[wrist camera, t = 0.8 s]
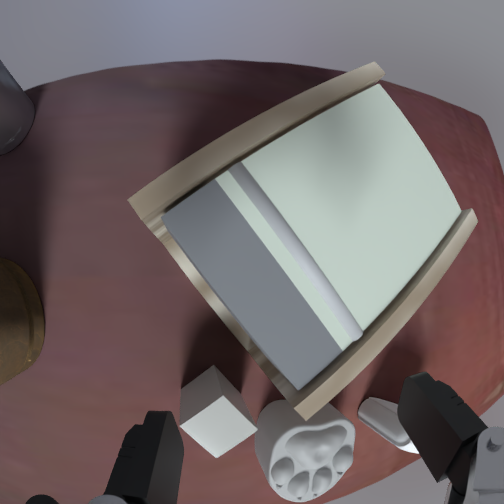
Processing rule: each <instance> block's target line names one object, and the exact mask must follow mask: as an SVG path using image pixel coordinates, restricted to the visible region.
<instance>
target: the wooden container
mask: <svg viewBox="0 0 504 504" xmlns="http://www.w3.org/2000/svg"><path fill="white" fill-rule="evenodd" d="M43 341H44V315H43V309H42V304H41V301H40V298H39V296H38V293H37V290H36V288H35V286H34V284H33V282H32V281H31V279H30V277H29V276H28V275H27V273H26V272H25V271H24V270H23V269H22V268H21V267H20V266H19V265H17V264H16V263H14V262H12V261H10V260H8V259H4V258H0V385H2V384H4V383H5V382H7V381H9V380H10V379H12V378H13V377H15V376H16V375H18V374H20V373H21V372H23V371H25V370H26V369H28V368H29V367H30V366H32V364H33V363H34V362H35V361H36V359H37V358H38V356H39V354H40V352H41V349H42V345H43Z"/></svg>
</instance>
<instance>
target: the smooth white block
mask: <svg viewBox="0 0 504 504" xmlns="http://www.w3.org/2000/svg"><path fill="white" fill-rule="evenodd" d="M180 427H181V428H182V429H183V430H184V431H186V432H187V433H188V434H189V435H190V436H191V437H192V438H193V439H194V440H196V441H197V442H198V443H199V444H200V445H201V446H202V447H204V448H205V449H206V450H207V451H208V452H210V453H211V454H212V455H213V456H214V457H216V458H218V457H219V456H221V455H222V454H224V453H225V452H227V451H228V450H230V449H231V448H233V447H234V446H236V445H237V444H239V443H240V442H242V441H243V440H245V439H246V438H247V437H249V436H250V435H252V434H253V433H254V432H256V431H257V430H258V428H257V426H256V424H255V422H254V420H253V418H252V416H251V414H250V412H249V410H248V408H247V406H246V404H245V402H244V399H243V397H242V395H241V393H240V392H239V391H238V390H237V389H236V388H235V387H234V386H233V385H232V384H231V383H230V382H229V381H228V380H227V379H226V377H225V376H224V375H223V374H222V373H221V372H220V371H219V370H218V369H217V367H216V366H215V365H213V366H211V367H210V368H209V369H207V370H206V371H205V372H203V373H202V374H201V375H199V376H198V377H197V378H195V379H194V380H193V381H191V382H190V383H189V384H187V385H186V386H184V387H183V388H182V389H181V397H180Z"/></svg>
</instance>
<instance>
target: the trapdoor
mask: <svg viewBox="0 0 504 504" xmlns="http://www.w3.org/2000/svg"><path fill="white" fill-rule="evenodd" d="M461 212H462V211H461V209H460V207H459V205H458V203H457V201H456V199H455V197H454V195H453V193H452V191H451V190H450V188H449V186H448V184H447V182H446V180H445V179H444V177H443V175H442V173H441V172H440V170H439V168H438V166H437V165H436V163H435V161H434V160H433V158H432V157H431V155H430V153H429V152H428V150H427V149H426V147H425V145H424V144H423V142H422V141H421V139H420V138H419V136H418V135H417V133H416V132H415V130H414V129H413V128H412V126H411V125H410V123H409V122H408V120H407V119H406V118H405V116H404V115H403V114H402V112H401V111H400V110H399V108H398V107H397V106H396V104H395V103H394V102H393V100H392V99H391V98H390V97H389V95H388V94H387V93H386V92H385V90H384V89H383V88H382V87H381V85H380V84H377V85H375V86H373V87H371V88H369V89H367V90H365V91H363V92H361V93H359V94H357V95H355V96H353V97H351V98H349V99H347V100H345V101H343V102H341V103H340V104H338V105H336V106H334V107H332V108H330V109H328V110H327V111H325V112H323V113H321V114H319V115H318V116H316V117H314V118H312V119H310V120H309V121H307V122H305V123H303V124H302V125H300V126H298V127H296V128H295V129H293V130H291V131H290V132H288V133H286V134H285V135H283V136H281V137H280V138H278V139H276V140H275V141H273V142H271V143H270V144H268V145H266V146H265V147H263V148H261V149H260V150H258V151H257V152H255V153H253V154H252V155H250V156H249V157H247V158H246V159H244V160H242V161H241V162H238V163H236V164H235V165H233V166H232V167H231V168H229V169H228V170H227V171H226V172H224V173H223V174H221V175H220V176H218V177H217V178H215V179H214V180H212V181H211V182H209V183H208V184H206V185H205V186H203V187H202V188H201V189H199V190H198V191H196V192H195V193H193V194H192V195H191V196H189V197H188V198H186V199H185V200H183V201H182V202H181V203H179V204H178V205H177V206H175V207H174V208H172V209H171V210H170V211H168V212H167V213H166V214H164V215H163V216H162V217H161V219H162V221H163V223H164V225H165V227H166V229H167V231H168V232H169V234H170V235H171V236H172V238H173V239H174V240H175V242H176V243H177V245H178V246H179V247H180V249H181V250H182V251H183V253H184V254H185V255H186V257H187V258H188V259H189V261H190V262H191V263H192V265H193V266H194V267H195V269H196V270H197V271H198V273H199V274H200V275H201V276H202V278H203V279H204V280H205V282H206V283H207V284H208V286H209V287H210V288H211V289H212V291H213V292H214V293H215V295H216V296H217V297H218V298H219V300H220V301H221V302H222V303H223V305H224V306H225V307H226V308H227V310H228V311H229V312H230V313H231V315H232V316H233V317H234V318H235V320H236V321H237V322H238V323H239V325H240V326H241V327H242V328H243V330H244V331H245V332H246V333H247V334H248V336H249V337H250V338H251V339H252V340H253V342H254V343H255V344H256V345H257V346H258V348H259V349H260V350H261V351H262V352H263V354H264V355H265V356H266V357H267V358H268V359H269V361H270V362H271V363H272V364H273V365H274V366H275V367H276V368H277V369H278V371H279V372H280V373H281V374H282V375H283V376H284V377H285V378H286V379H287V380H288V381H289V382H290V383H291V384H292V385H293V386H294V387H295V388H296V389H297V390H298V391H299V390H300V389H301V388H303V387H304V386H305V385H306V384H307V383H308V382H310V381H311V380H312V379H313V378H314V377H315V376H317V375H318V374H319V373H320V372H321V371H322V370H323V369H324V368H325V367H327V366H328V365H329V364H330V363H331V362H332V361H333V360H334V359H335V358H336V357H337V356H338V355H340V354H341V353H342V352H343V351H344V350H345V349H346V348H347V347H348V346H349V345H350V344H351V343H352V342H353V341H356V340H358V339H359V338H360V337H361V336H362V334H363V331H364V330H365V329H366V328H367V327H368V326H369V325H370V324H371V323H372V322H373V321H374V320H375V319H376V318H377V316H378V315H379V314H380V313H381V312H382V311H383V310H384V309H385V308H386V307H387V306H388V305H389V303H390V302H391V301H392V300H393V299H394V298H395V297H396V296H397V294H398V293H399V292H400V291H401V290H402V289H403V288H404V286H405V285H406V284H407V283H408V282H409V281H410V279H411V278H412V277H413V276H414V275H415V273H416V272H417V271H418V270H419V268H420V267H421V266H422V265H423V263H424V262H425V261H426V260H427V258H428V257H429V256H430V255H431V253H432V252H433V251H434V249H435V248H436V247H437V245H438V244H439V243H440V241H441V240H442V239H443V237H444V236H445V235H446V233H447V232H448V230H449V229H450V228H451V226H452V225H453V223H454V222H455V221H456V219H457V218H458V216H459V215H460V213H461Z"/></svg>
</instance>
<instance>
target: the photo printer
mask: <svg viewBox="0 0 504 504" xmlns="http://www.w3.org/2000/svg"><path fill="white" fill-rule="evenodd" d="M397 408H398V404H395V403H392V402H389V401H386V400H382V399H379V398H374V397H369V399H366V400H365V401H364V402H363V403H362V404H361V406H360V407H359V410H358V415H359V416H358V418H359V419H360V420H361V421H362V422H363V423H365V424H366V425H367V426H369V427H370V428H372V429H373V430H374V431H376V432H377V433H378V434H380V435H381V436H383V437H384V438H385V439H387V440H388V441H389V442H391V443H392V444H394V445H395V446H396V447H398V448H400V449H402V450H405V451H408V452H413V453H419V452H418V451H417V449H416V447H415V446H414V444H413V443H412V441H411V439H410V438H409V436H408V435H407V433H406V431H405V430H404V428H403V427H402V425H401V424H400V422H399V419H398V415H397Z"/></svg>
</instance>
